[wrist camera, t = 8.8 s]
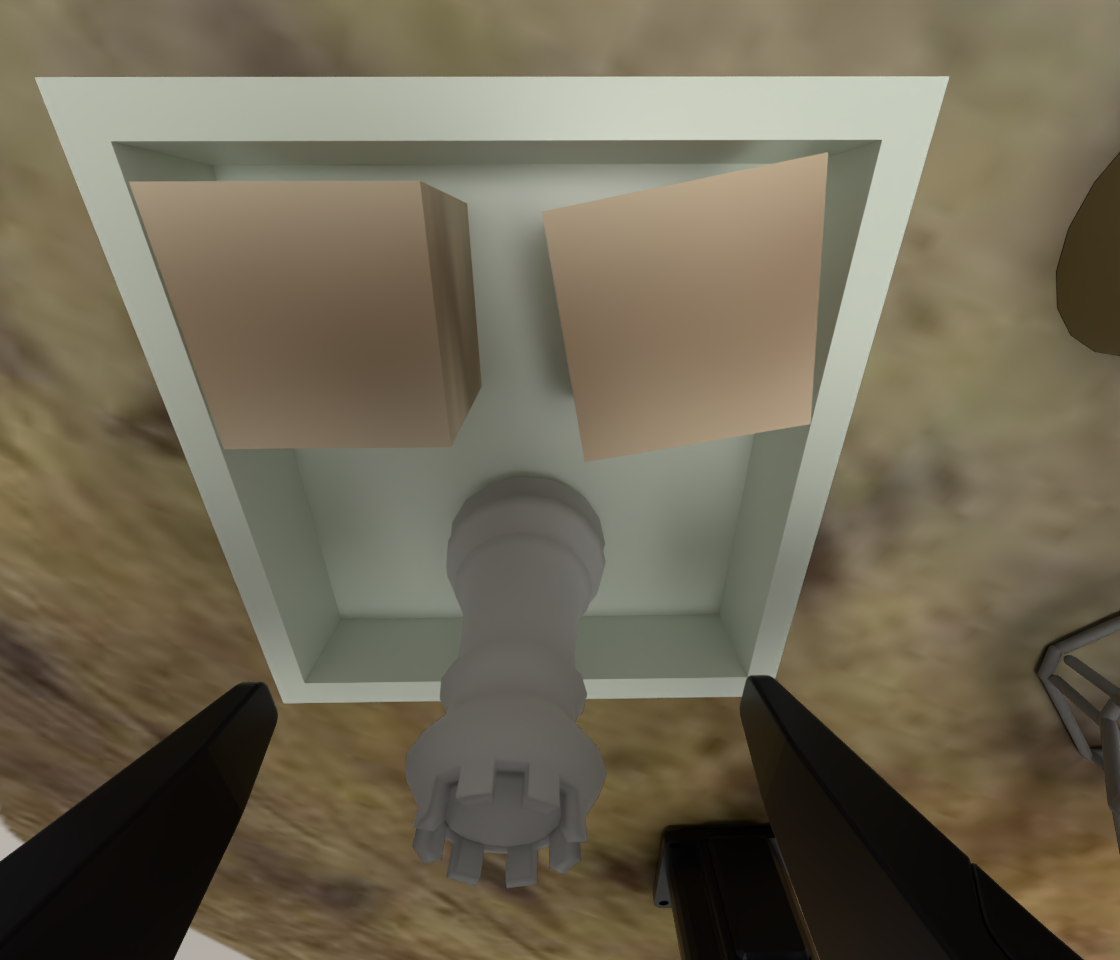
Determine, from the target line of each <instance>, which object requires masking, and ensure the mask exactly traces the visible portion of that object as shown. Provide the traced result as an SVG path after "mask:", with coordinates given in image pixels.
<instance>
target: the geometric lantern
mask: <svg viewBox="0 0 1120 960" xmlns="http://www.w3.org/2000/svg"><path fill="white" fill-rule="evenodd" d="M1118 630H1120V615H1119V616H1117V617H1115V618H1112V619H1110V620H1108V621H1106V622H1103V623H1101V624H1099V625H1097V626H1095V627H1092V628H1090V629H1088V630H1086V631H1083V632H1081V633H1079V634H1077V635H1074V636H1072V637H1070V638H1068V639H1066V640H1063V641H1061V642H1059V643H1057V644H1055V645H1051V646H1049V647H1048V650H1047V652H1046V655H1045V657H1044V659H1043V662H1042V664H1041V666H1040V669H1039V671H1038V676H1039V678H1041V680H1042V681H1043V683H1044V685H1045V687H1046V689H1047V691H1048V693H1049V695H1050V697H1051V699H1052V701H1053V702H1054V704H1055V706H1056V708H1057V710H1058V712H1059V714H1060V716H1061V718H1062V720H1063V722H1064V723H1065V725H1066V727H1067V729H1068V731H1069V733H1070V735H1071V737H1072V739H1073V741H1074V743H1075V744H1076V746H1077V748H1078V750H1079V752H1080V754H1081V755H1082V756H1083V757H1085V758H1086V759H1092V760H1093V761H1094V762H1095V763H1096V764H1097V765H1098V766H1099V767H1100V768H1101V769H1103V770H1104V772H1105V782H1106V792H1107V801H1108V805H1109V807H1110V809H1111V810H1112V814H1113V820H1114V825H1115V831H1116V836H1117V842H1118V847H1119V853H1120V731H1119V728H1118V726H1117V723H1116V720H1117V719H1118V718H1119V716H1120V689H1119V688H1118V687H1116V686H1115V685H1113V684H1112V683H1111V682H1109V681H1108V680H1106V679H1105V678H1104V677H1102V676H1101V675H1100V674H1098V673H1097V672H1095V671H1094V670H1093V669H1091V668H1090V667H1088V666H1087V665H1086V664H1084V663H1083V662H1081V661H1080V660H1079V659H1077V658H1076V657H1074V656H1071V655H1067V656H1065V657H1064V662H1065V663H1066V664H1067V665H1068V666H1070V667H1071V668H1072V669H1074V670H1075V671H1076V672H1078V673H1079V674H1080V675H1082V676H1083V677H1085V678H1086V679H1087V680H1089V681H1090V682H1091V683H1093V684H1094V685H1095V686H1097V687H1098V688H1099V689H1101V690H1102V691H1103V692H1105V693H1106V694H1107V695H1109V696H1110V697H1111V698H1110V699H1109V701H1108V702H1107V704H1106V705H1105V706H1104V708H1103V709H1102V711H1101V712H1100V711H1099V710H1097V709H1096V708H1095V707H1094V706H1093V705H1092V704H1091V703H1089V702H1088V701H1087V700H1086V699H1085V698H1084V697H1083V696H1081V695H1080V694H1079V693H1078V692H1077V691H1076V690H1075V689H1073V688H1072V687H1071V686H1070V685H1069V684H1068V683H1067V682H1065V681H1064V680H1063V679H1062V678H1061V677H1059V676H1058V675H1053V673H1054V671H1055V668H1056V666H1057V664H1058V662H1059V659H1060V657H1061V655H1062V653H1068V652H1070V651H1073V650H1075V649H1077V648H1079V647H1082V646H1084V645H1086V644H1088V643H1091V642H1093V641H1095V640H1097V639H1100V638H1102V637H1104V636H1107V635H1109V634H1111V633H1113V632H1116V631H1118ZM1062 693H1063V694H1064V695H1065V696H1066V697H1067V698H1069V699H1070V700H1071V701H1072V702H1073V703H1074V704H1075V705H1076V706H1077V707H1079V708H1080V709H1081V710H1082V711H1083V712H1084V713H1085V714H1086V715H1087V716H1089V717H1090V718H1091V719H1092V720H1093V721H1094V722H1095V723H1096V724H1097V725H1099V726H1100V733H1101V742H1102V749H1090V748H1089V746H1088V744H1087V742H1086V740H1085V738H1084V736H1083V734H1082V732H1081V730H1080V728H1079V726H1078V724H1077V722H1076V720H1075V718H1074V716H1073V714H1072V712H1071V710H1070V708H1069V706H1068V704H1067V702H1066V700H1065V698H1064V696H1063V694H1062Z"/></svg>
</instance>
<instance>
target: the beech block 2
mask: <svg viewBox="0 0 1120 960" xmlns="http://www.w3.org/2000/svg"><path fill="white" fill-rule="evenodd" d="M827 163H828V152H826V153H822V154H817V155H812V156H807V157H802V158H798V159H793V160H788V161H783V162H778V163H773V164H769V165H764V166H759V167H754V168H749V169H744V170H740V171H735V172H730V173H725V174H720V175H716V176H711V177H706V178H701V179H696V180H691V181H687V182H682V183H677V184H672V185H667V186H663V187H658V188H653V189H648V190H643V191H638V192H634V193H629V194H624V195H619V196H614V197H609V198H605V199H600V200H595V201H590V202H585V203H581V204H576V205H571V206H566V207H561V208H556V209H552V210H547V211H542V217H543V222H544V228H545V234H546V240H547V246H548V251H549V257H550V263H551V269H552V275H553V280H554V286H555V292H556V298H557V304H558V310H559V315H560V321H561V327H562V333H563V339H564V344H565V350H566V356H567V362H568V368H569V373H570V379H571V385H572V391H573V397H574V403H575V408H576V414H577V420H578V426H579V432H580V437H581V443H582V449H583V455H584V461H585V462H589V461H595V460H601V459H607V458H613V457H619V456H625V455H630V454H636V453H642V452H648V451H654V450H660V449H666V448H672V447H678V446H684V445H690V444H695V443H701V442H707V441H713V440H719V439H725V438H731V437H737V436H743V435H749V434H755V433H760V432H766V431H772V430H778V429H784V428H790V427H796V426H802V425H808V424H811V409H812V393H813V378H814V362H815V347H816V332H817V316H818V301H819V286H820V270H821V255H822V240H823V224H824V209H825V194H826V178H827Z"/></svg>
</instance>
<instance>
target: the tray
mask: <svg viewBox="0 0 1120 960" xmlns="http://www.w3.org/2000/svg"><path fill="white" fill-rule="evenodd" d="M35 80H36V82H37V85H38V87H39V90H40V92H41V95H42V97H43V100H44V102H45V105H46V107H47V110H48V112H49V115H50V117H51V120H52V123H53V125H54V128H55V130H56V133H57V135H58V138H59V140H60V143H61V145H62V148H63V150H64V153H65V155H66V158H67V160H68V163H69V165H70V168H71V170H72V173H73V175H74V178H75V180H76V183H77V185H78V188H79V190H80V193H81V195H82V198H83V200H84V203H85V205H86V208H87V211H88V213H89V216H90V218H91V221H92V223H93V226H94V228H95V231H96V233H97V236H98V238H99V241H100V243H101V246H102V248H103V251H104V253H105V256H106V258H107V261H108V263H109V266H110V268H111V271H112V273H113V276H114V278H115V281H116V283H117V286H118V288H119V291H120V293H121V296H122V299H123V301H124V304H125V306H126V309H127V311H128V314H129V316H130V319H131V321H132V324H133V326H134V329H135V331H136V334H137V336H138V339H139V341H140V344H141V346H142V349H143V351H144V354H145V356H146V359H147V361H148V364H149V366H150V369H151V371H152V374H153V376H154V379H155V381H156V384H157V387H158V389H159V392H160V394H161V397H162V399H163V402H164V404H165V407H166V409H167V412H168V414H169V417H170V419H171V422H172V424H173V427H174V429H175V432H176V434H177V437H178V439H179V442H180V444H181V447H182V449H183V452H184V454H185V457H186V459H187V462H188V464H189V467H190V469H191V472H192V474H193V477H194V480H195V482H196V485H197V487H198V490H199V492H200V495H201V497H202V500H203V502H204V505H205V507H206V510H207V512H208V515H209V517H210V520H211V522H212V525H213V527H214V530H215V532H216V535H217V537H218V540H219V542H220V545H221V547H222V550H223V552H224V555H225V557H226V560H227V562H228V565H229V568H230V570H231V573H232V575H233V578H234V580H235V583H236V585H237V588H238V590H239V593H240V595H241V598H242V600H243V603H244V605H245V608H246V610H247V613H248V615H249V618H250V620H251V623H252V625H253V628H254V630H255V633H256V635H257V638H258V640H259V643H260V645H261V648H262V650H263V653H264V656H265V658H266V661H267V663H268V666H269V668H270V671H271V673H272V676H273V678H274V681H275V683H276V686H277V688H278V691H279V693H280V696H281V698H282V701H283V703H338V702H407V701H441V700H440V688H441V678H442V677H443V676H444V674H445V673H446V671H447V670H448V669H449V667H450V666H451V664H452V663H453V662H454V660H456V659H457V658H458V654H459V650H460V646H461V635H462V619H463V613H462V610H461V608H460V606H459V603H458V601H457V599H456V596H455V594H454V590H453V588H452V586H451V583H450V581H449V579H448V576H447V569H446V563H447V549H448V540H449V539H450V537H451V530H452V522H453V520H454V519H455V517H456V515H457V514H458V512H459V510H460V509H461V507H462V505H463V504H464V502H465V501H466V499H468V498H469V497H471V496H472V495H474V494H475V493H476V492H478V491H479V490H481V489H482V488H484V487H485V486H487V485H488V484H490V483H492V482H497V481H502V480H506V479H511V478H516V477H520V476H525V477H532V478H539V479H546V480H553V481H556V482H558V483H560V484H561V485H563V486H565V487H567V488H569V489H571V490H572V491H574V492H576V493H578V494H580V495H581V496H582V497H583V498H584V499H585V500H586V502H587V503H588V504H589V505H590V507H591V508H592V509H593V510H594V512H595V513H596V514H597V515H598V517H599V518H600V522H601V527H602V531H603V536H604V540H605V546H604V550H603V552H604V557H605V561H606V563H605V566H604V570H603V574H602V578H601V582H600V586H599V589H598V593H597V595H596V596H595V597H594V599H593V600H592V601H591V602H590V603H589V605H588V609H587V611H586V612H585V613H584V614H583V616H582V617H581V618H580V619H579V623H578V631H577V639H576V647H575V669H576V670H577V671H578V672H579V673H580V674H581V675H582V678H583V682H584V685H585V688H586V692H587V698H586V699H615V698H685V697H742V694H743V690H744V686H745V682H746V679H747V677H748V676H750V675H769V676H771V677H773V678H774V679H775V678H776V674H777V671H778V667H779V664H780V660H781V657H782V654H783V650H784V647H785V643H786V640H787V636H788V633H789V629H790V626H791V622H792V619H793V615H794V612H795V609H796V605H797V602H798V598H799V595H800V591H801V588H802V584H803V581H804V577H805V574H806V571H807V567H808V564H809V560H810V557H811V553H812V550H813V546H814V543H815V539H816V536H817V533H818V529H819V526H820V522H821V519H822V515H823V512H824V508H825V505H826V501H827V498H828V494H829V491H830V488H831V484H832V481H833V477H834V474H835V470H836V467H837V463H838V460H839V456H840V453H841V450H842V446H843V443H844V439H845V436H846V432H847V429H848V425H849V422H850V418H851V415H852V411H853V408H854V405H855V401H856V398H857V394H858V391H859V387H860V384H861V380H862V377H863V373H864V370H865V367H866V363H867V360H868V356H869V353H870V349H871V346H872V342H873V339H874V335H875V332H876V329H877V325H878V322H879V318H880V315H881V311H882V308H883V304H884V301H885V297H886V294H887V290H888V287H889V284H890V280H891V277H892V273H893V270H894V266H895V263H896V259H897V256H898V252H899V249H900V246H901V242H902V239H903V235H904V232H905V228H906V225H907V221H908V218H909V214H910V211H911V208H912V204H913V201H914V197H915V194H916V190H917V187H918V183H919V180H920V176H921V173H922V169H923V166H924V163H925V159H926V156H927V152H928V149H929V145H930V142H931V138H932V135H933V131H934V128H935V125H936V121H937V118H938V114H939V111H940V107H941V104H942V100H943V97H944V93H945V90H946V86H947V83H948V80H949V76H941V77H35ZM826 152H828V163H827V178H826V194H825V209H824V224H823V240H822V255H821V270H820V286H819V301H818V316H817V332H816V347H815V362H814V378H813V393H812V409H811V424H808V425H802V426H796V427H790V428H784V429H778V430H772V431H766V432H760V433H755V434H749V435H743V436H737V437H731V438H725V439H719V440H713V441H707V442H701V443H695V444H690V445H684V446H678V447H672V448H666V449H660V450H654V451H648V452H642V453H636V454H630V455H625V456H619V457H613V458H607V459H601V460H595V461H589V462H585V461H584V455H583V449H582V443H581V437H580V432H579V426H578V420H577V414H576V408H575V403H574V397H573V391H572V385H571V379H570V373H569V368H568V362H567V356H566V350H565V344H564V339H563V333H562V327H561V321H560V315H559V310H558V304H557V298H556V292H555V286H554V280H553V275H552V269H551V263H550V257H549V251H548V246H547V240H546V234H545V228H544V222H543V217H542V211H547V210H552V209H556V208H561V207H566V206H571V205H576V204H581V203H585V202H590V201H595V200H600V199H605V198H609V197H614V196H619V195H624V194H629V193H634V192H638V191H643V190H648V189H653V188H658V187H663V186H667V185H672V184H677V183H682V182H687V181H691V180H696V179H701V178H706V177H711V176H716V175H720V174H725V173H730V172H735V171H740V170H744V169H749V168H754V167H759V166H764V165H769V164H773V163H778V162H783V161H788V160H793V159H798V158H802V157H807V156H812V155H817V154H822V153H826ZM147 181H421V182H424V183H426V184H428V185H430V186H432V187H434V188H436V189H438V190H440V191H442V192H444V193H446V194H449V195H451V196H453V197H455V198H457V199H459V200H461V201H463V202H465V203H467V209H468V222H469V234H470V246H471V259H472V271H473V284H474V296H475V309H476V321H477V333H478V346H479V358H480V371H481V383H482V387H481V389H480V391H479V393H478V395H477V397H476V399H475V401H474V403H473V405H472V407H471V409H470V411H469V413H468V415H467V417H466V418H465V420H464V422H463V424H462V426H461V428H460V430H459V432H458V434H457V436H456V438H455V440H454V442H453V444H452V446H451V447H415V448H302V449H224V448H223V446H222V443H221V440H220V437H219V434H218V431H217V429H216V426H215V423H214V420H213V417H212V415H211V412H210V409H209V406H208V403H207V400H206V398H205V395H204V392H203V389H202V386H201V384H200V381H199V378H198V375H197V372H196V369H195V367H194V364H193V361H192V358H191V355H190V353H189V350H188V347H187V344H186V341H185V338H184V336H183V333H182V330H181V327H180V324H179V322H178V319H177V316H176V313H175V310H174V307H173V305H172V302H171V299H170V296H169V293H168V291H167V288H166V285H165V282H164V279H163V276H162V274H161V271H160V268H159V265H158V262H157V260H156V257H155V254H154V251H153V248H152V245H151V243H150V240H149V237H148V234H147V231H146V228H145V226H144V223H143V220H142V217H141V214H140V212H139V209H138V206H137V203H136V200H135V197H134V195H133V192H132V189H131V186H130V183H129V182H147Z"/></svg>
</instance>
